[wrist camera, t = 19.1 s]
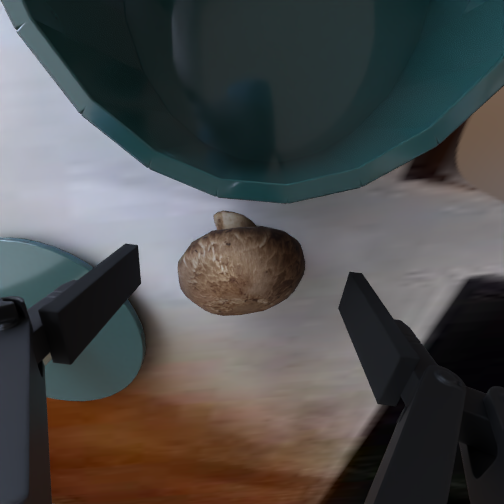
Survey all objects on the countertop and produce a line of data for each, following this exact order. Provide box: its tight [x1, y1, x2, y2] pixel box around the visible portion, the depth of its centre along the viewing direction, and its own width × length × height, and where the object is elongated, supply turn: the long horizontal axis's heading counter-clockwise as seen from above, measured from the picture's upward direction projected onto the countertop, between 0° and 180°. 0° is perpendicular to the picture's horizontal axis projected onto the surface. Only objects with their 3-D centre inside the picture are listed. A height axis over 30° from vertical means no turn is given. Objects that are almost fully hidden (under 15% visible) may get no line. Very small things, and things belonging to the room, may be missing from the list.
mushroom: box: [178, 211, 305, 316], centre depth 17 cm, size 8×8×6 cm
